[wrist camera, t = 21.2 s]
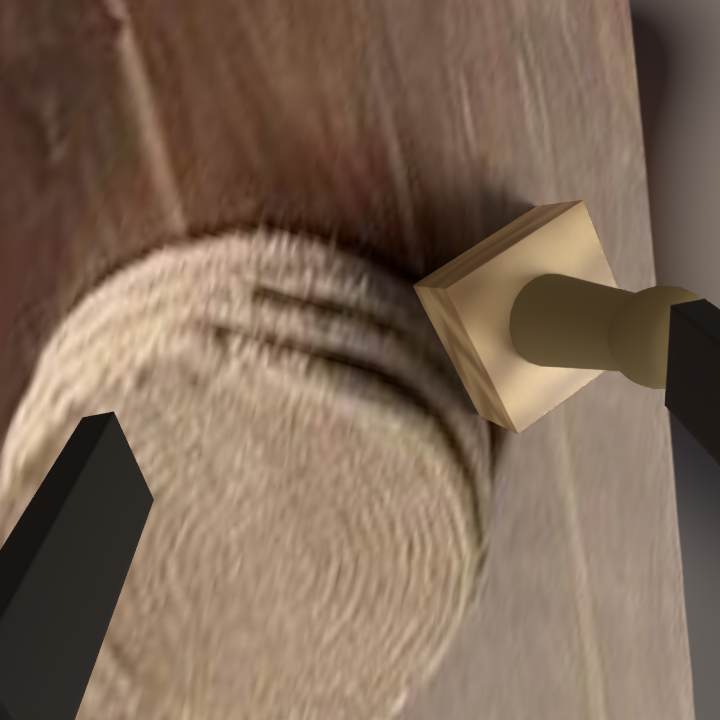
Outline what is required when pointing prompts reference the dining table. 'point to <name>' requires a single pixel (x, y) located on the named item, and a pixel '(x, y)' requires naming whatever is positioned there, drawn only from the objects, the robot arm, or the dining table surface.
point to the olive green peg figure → (595, 326)
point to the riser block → (494, 303)
